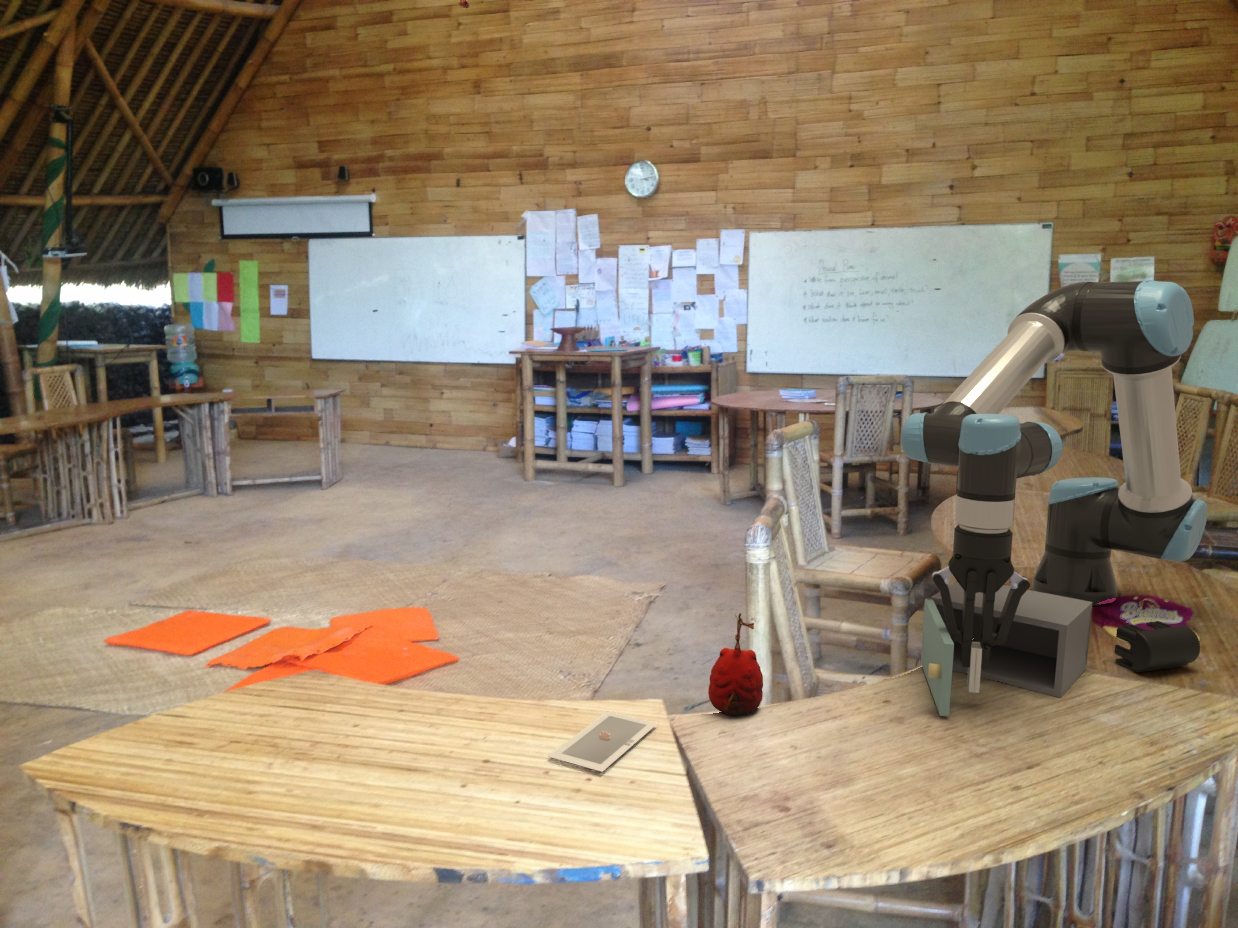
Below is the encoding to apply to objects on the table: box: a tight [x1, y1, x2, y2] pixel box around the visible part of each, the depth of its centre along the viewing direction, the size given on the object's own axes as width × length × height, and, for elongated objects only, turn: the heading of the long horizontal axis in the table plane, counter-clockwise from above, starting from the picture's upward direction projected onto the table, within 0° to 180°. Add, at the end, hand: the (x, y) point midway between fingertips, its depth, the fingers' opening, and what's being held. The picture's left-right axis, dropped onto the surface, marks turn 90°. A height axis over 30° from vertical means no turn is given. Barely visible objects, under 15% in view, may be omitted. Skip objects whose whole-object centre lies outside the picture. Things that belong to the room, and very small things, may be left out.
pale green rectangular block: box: [920, 597, 954, 717], centre depth 137 cm, size 3×20×10 cm, turn 170°
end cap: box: [1114, 620, 1201, 673], centre depth 146 cm, size 10×7×7 cm
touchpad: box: [547, 710, 658, 773], centre depth 121 cm, size 8×15×2 cm, turn 151°
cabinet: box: [930, 581, 1093, 699], centre depth 146 cm, size 14×20×11 cm
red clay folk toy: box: [707, 612, 764, 716], centre depth 130 cm, size 8×7×15 cm
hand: (972, 688), depth 132 cm, fingers closed
